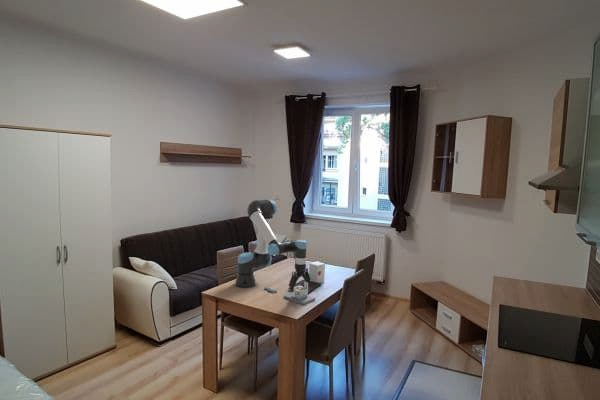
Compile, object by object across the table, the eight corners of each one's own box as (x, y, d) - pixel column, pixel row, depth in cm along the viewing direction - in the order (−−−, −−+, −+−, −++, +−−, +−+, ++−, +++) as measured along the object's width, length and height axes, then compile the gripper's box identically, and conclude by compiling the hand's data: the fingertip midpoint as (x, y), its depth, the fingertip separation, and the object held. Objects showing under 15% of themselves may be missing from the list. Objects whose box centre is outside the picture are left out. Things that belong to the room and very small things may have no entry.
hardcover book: (287, 291, 248) (288, 288, 248) (302, 282, 268) (302, 279, 268) (307, 295, 241) (307, 292, 241) (321, 286, 261) (321, 283, 261)
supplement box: (316, 284, 263) (317, 265, 261) (308, 281, 269) (309, 262, 268) (324, 282, 269) (325, 263, 267) (316, 279, 275) (317, 261, 274)
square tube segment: (291, 296, 232) (291, 288, 232) (298, 293, 238) (299, 285, 238) (300, 300, 227) (300, 291, 226) (307, 296, 233) (308, 288, 232)
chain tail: (262, 289, 249) (262, 288, 249) (266, 288, 252) (266, 286, 252) (274, 293, 241) (274, 292, 241) (278, 292, 244) (278, 290, 244)
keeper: (283, 297, 234) (284, 287, 233) (295, 293, 243) (295, 282, 242) (303, 305, 222) (304, 294, 222) (315, 300, 232) (315, 289, 231)
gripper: (292, 268, 219) (291, 300, 221) (316, 260, 237) (315, 290, 239) (283, 265, 223) (282, 297, 225) (307, 258, 242) (306, 287, 244)
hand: (299, 293), depth 232 cm, fingers open, 13 cm apart
